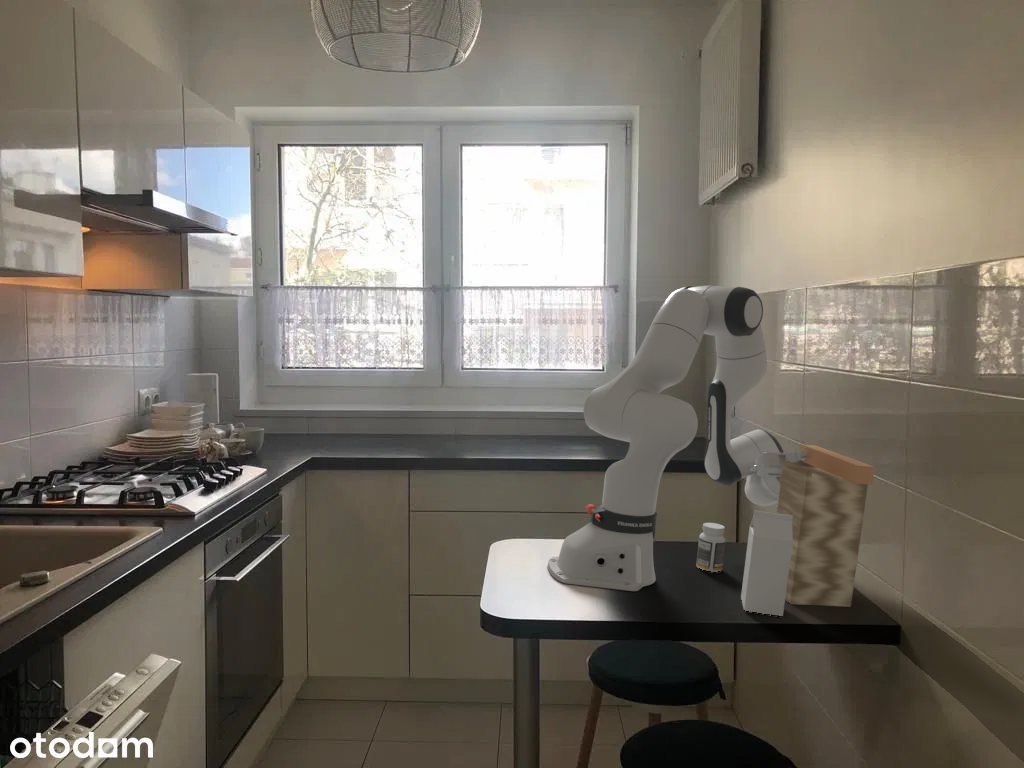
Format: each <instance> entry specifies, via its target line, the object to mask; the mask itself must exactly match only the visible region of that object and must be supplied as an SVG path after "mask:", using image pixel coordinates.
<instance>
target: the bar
mask: <svg viewBox="0 0 1024 768" xmlns="http://www.w3.org/2000/svg"><path fill="white" fill-rule="evenodd" d="M799 450H804V451H806V452H807V453H806V454H807V458H806V459H805V460H800V461H802V462H805V463H807V464H810V465H812V466H814V467H817V468H819V469H822V470H824V471H826V472H829V473H831V474H834V475H836V476H838V477H841V478H843V479H846V480H848V481H850V482H853V483H855V484H868V485H873V481H874V473H875V466H873V465H871V464H867V463H866V462H865V463H864V462H863V461H859V460H857V459H855V458H852V457H849V456H846V455H844V454H842V453H837V452H834V451H833V450H830V449H827V448H823V447H821V446H819V445H814V444H800V449H799Z"/></svg>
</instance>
